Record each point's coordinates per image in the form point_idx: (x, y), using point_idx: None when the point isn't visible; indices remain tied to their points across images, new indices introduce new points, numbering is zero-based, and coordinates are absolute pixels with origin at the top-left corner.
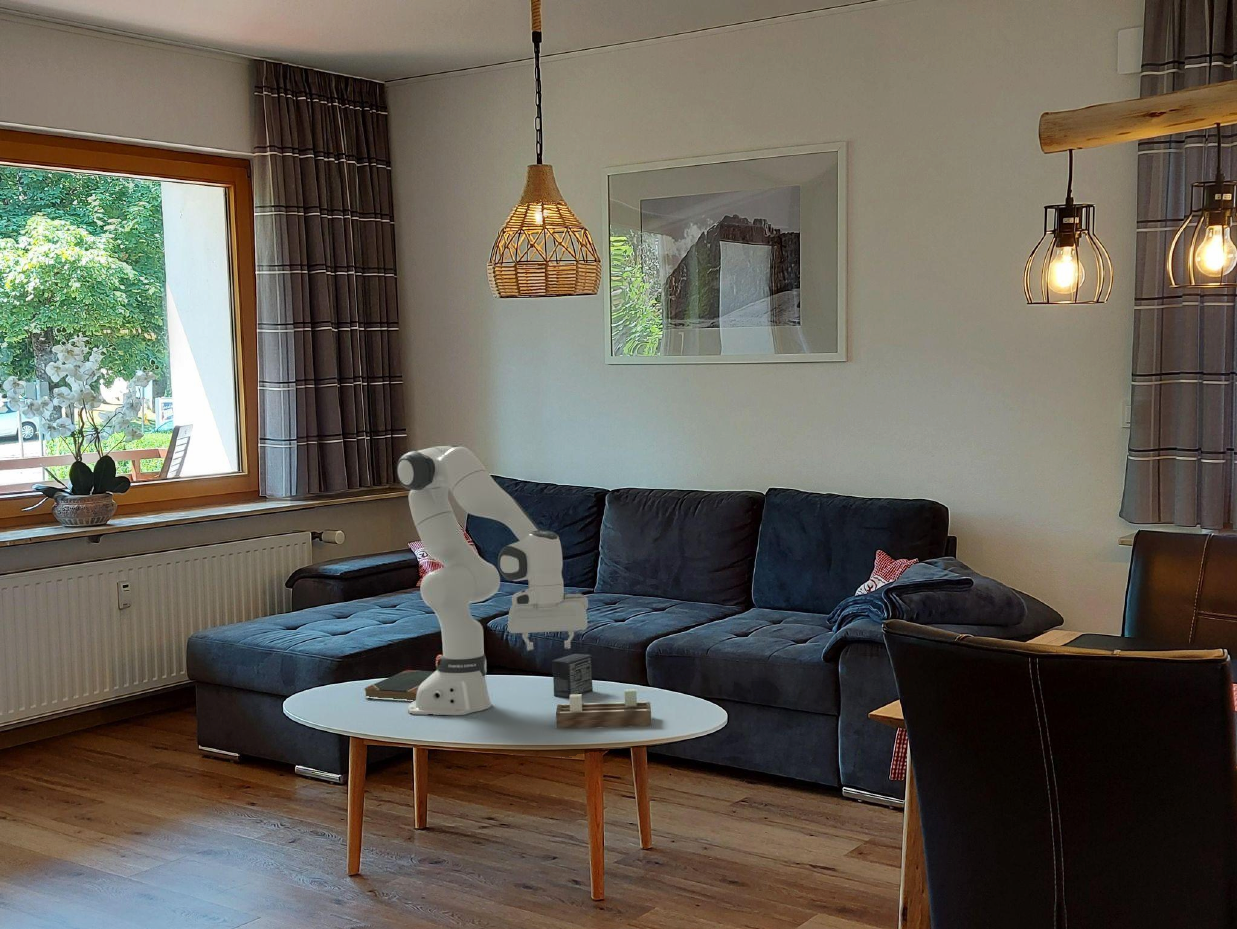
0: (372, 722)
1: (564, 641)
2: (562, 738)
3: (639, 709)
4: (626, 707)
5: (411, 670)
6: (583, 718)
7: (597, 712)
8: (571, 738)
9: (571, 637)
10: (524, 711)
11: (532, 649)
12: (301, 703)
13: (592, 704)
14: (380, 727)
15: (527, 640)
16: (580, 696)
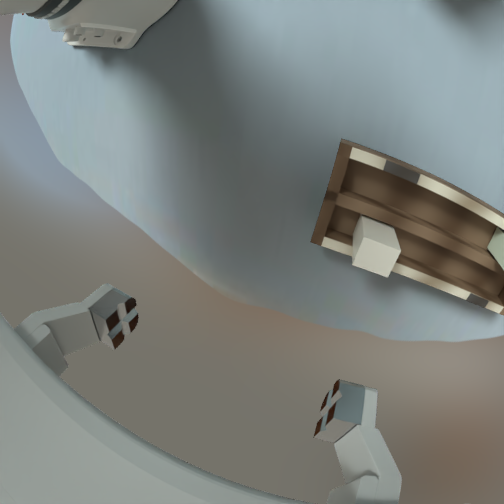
0: (42, 89)
1: (325, 426)
2: (308, 298)
3: (493, 303)
4: (489, 268)
5: None
6: None
7: (414, 279)
8: (325, 305)
9: (354, 474)
10: (263, 22)
11: (134, 325)
12: None
13: (439, 194)
14: (48, 117)
15: (80, 349)
16: (385, 276)
